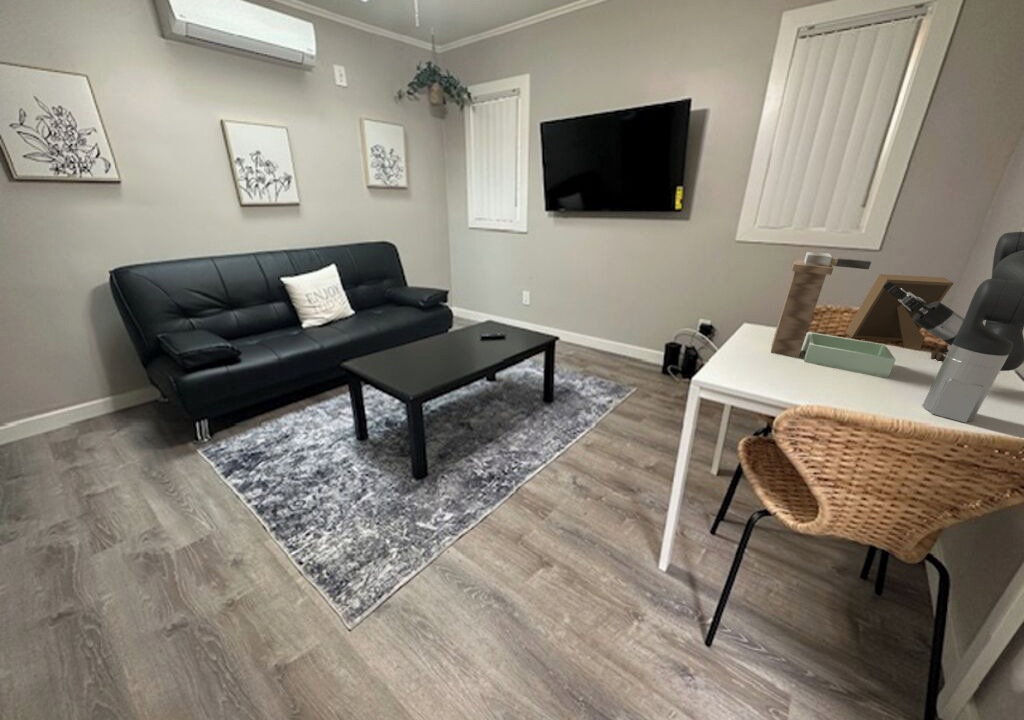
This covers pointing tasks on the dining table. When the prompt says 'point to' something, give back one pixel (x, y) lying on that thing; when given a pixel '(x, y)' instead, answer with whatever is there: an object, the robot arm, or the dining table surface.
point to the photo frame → (896, 309)
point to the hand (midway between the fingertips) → (888, 286)
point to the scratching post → (798, 307)
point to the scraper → (834, 261)
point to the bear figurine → (939, 355)
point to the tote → (848, 354)
